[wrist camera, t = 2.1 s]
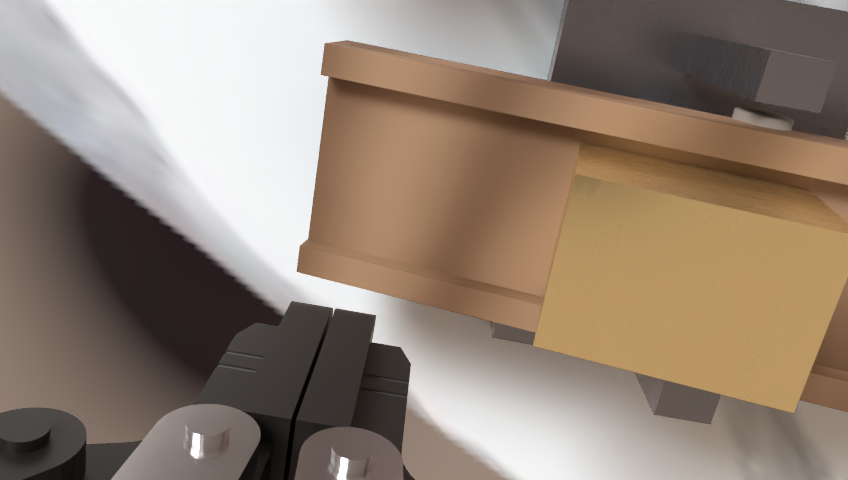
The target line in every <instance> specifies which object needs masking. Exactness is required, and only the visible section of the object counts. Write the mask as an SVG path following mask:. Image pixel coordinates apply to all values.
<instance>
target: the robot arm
mask: <svg viewBox="0 0 848 480" xmlns="http://www.w3.org/2000/svg"><path fill="white" fill-rule="evenodd" d="M332 316H333V317H332ZM375 319H376V315H370V314H365V313H359V312H353V311H347V310H341V309H335V311H334V314H333V308H329V307H323V306H317V305H312V304H306V303H300V302H294V301H292V302H291V303H290V305H289V307H288V309H287V311H286V313H285V315H284V317H283V319H282V321H281V323H280V325H279V327H278V326H272V325H266V324H260V323H255V324H254V325H252V326H250V327H248V328H247V329H245V330H243V331H241V332H240V333H238V334H236V336H235V337H234V339H233V340H232V342H231V344H230V345H229V347H228V349H227V351H226V353H225V354H224V355H223V357H222V359H221V360H220V362H219V364H218V367H216V369H215V370H214V372H213V374H212V375H211V377H210V378H209V380H208V382H207V383H206V385H205V386H204V388H203V390H202V391H201V393H200V395H199V396H198V398H197V400H196V401H195V403H194V404H193V405H191V406H186V407H182V408H180V409H177V410H174V411H172V412H170V413H168V414H167V415H165V416H164V417H163V418H161V419H160V420H159V421H158V422H157V424H156V425H155V426H154V427H153V429H152V430H151V431H150V432H149V433H148V435H147V436H146V437H145V438H144V440H141V441H135V442H126V443H107V444H86V429H85V427H84V425H83V423H82V422H81V421H80V420H79V419H78V418H76V417H75V416H73V415H71V414H69V413H67V412H64V411H61V410H56V409H50V408H23V409H16V410H11V411H7V412H3V413H0V480H415V479H414V478H413V477H412V476H411V475H410V474H409V472H408V471H407V470H406V468H405V466H404V464H403V460H402V456H401V450H402V441H403V432H404V423H405V422H404V421H405V413H406V404H407V394H408V385H409V376H410V366H411V364H410V362H409V360H408V359H407V357H406V356H405V354H404V352H403V351H402V349H401V347H395V346H389V345H384V344H378V343H372V338H373V332H374V326H375Z"/></svg>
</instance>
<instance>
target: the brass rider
mask: <svg viewBox="0 0 848 480" xmlns="http://www.w3.org/2000/svg"><path fill="white" fill-rule="evenodd" d="M847 278H848V223H847V222H845V221H844V220H843V219H842V218H841V217H840V216H839V215H837V214H836V213H835V212H834V211H833V210H832V209H831V208H829V207H828V206H827V205H826V204H825V203H824V202H823V201H821V200H820V199H819V198H818V197H817V196H816V195H815V194H813V193H812V192H811V191H810V190H808V189H804V188H799V187H794V186H790V185H785V184H780V183H775V182H771V181H766V180H761V179H756V178H752V177H747V176H742V175H738V174H733V173H728V172H723V171H719V170H714V169H709V168H705V167H700V166H695V165H690V164H686V163H681V162H676V161H671V160H667V159H662V158H657V157H653V156H648V155H643V154H638V153H634V152H629V151H624V150H619V149H615V148H610V147H605V146H601V145H596V144H591V143H586V142H582V141H580V145H579V149H578V153H577V157H576V161H575V165H574V169H573V173H572V177H571V181H570V185H569V189H568V193H567V197H566V201H565V205H564V209H563V213H562V218H561V222H560V226H559V230H558V234H557V238H556V242H555V246H554V250H553V254H552V258H551V262H550V266H549V270H548V274H547V278H546V282H545V287H544V292H543V297H542V302H541V307H540V312H539V318H538V323H537V328H536V333H535V338H534V343H533V346H535V347H539V348H543V349H547V350H550V351H554V352H558V353H562V354H566V355H570V356H574V357H578V358H581V359H585V360H589V361H593V362H597V363H601V364H605V365H609V366H612V367H616V368H620V369H624V370H628V371H632V372H636V373H640V374H643V375H647V376H651V377H655V378H659V379H663V380H667V381H671V382H674V383H678V384H682V385H686V386H690V387H694V388H698V389H702V390H706V391H709V392H713V393H717V394H721V395H725V396H729V397H733V398H737V399H740V400H744V401H748V402H752V403H756V404H760V405H764V406H768V407H771V408H775V409H779V410H783V411H787V412H791V413H794V412H795V409H796V407H797V404H798V401H799V399H800V396H801V394H802V391H803V389H804V386H805V384H806V381H807V379H808V376H809V374H810V371H811V369H812V366H813V364H814V361H815V358H816V356H817V353H818V351H819V348H820V346H821V343H822V341H823V338H824V336H825V333H826V331H827V328H828V326H829V323H830V321H831V318H832V316H833V313H834V310H835V308H836V305H837V303H838V300H839V298H840V295H841V293H842V290H843V288H844V285H845V283H846V280H847Z"/></svg>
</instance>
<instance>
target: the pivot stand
mask: <svg viewBox="0 0 848 480" xmlns="http://www.w3.org/2000/svg"><path fill="white" fill-rule="evenodd" d="M547 81H552V82H557V83H562V84H567V85H572V86H577V87H582V88H587V89H592V90H597V91H602V92H607V93H612V94H617V95H622V96H627V97H632V98H637V99H642V100H647V101H652V102H657V103H662V104H667V105H672V106H677V107H682V108H687V109H692V110H697V111H702V112H707V113H712V114H717V115H722V116H727V117H732V115H733V112H734V109H735V107H740V108H748V109H754V110H759V111H764V112H768V113H773V114H777V115H780V116H784V117H787V118H790V119H793V120H794V123H793V126H792V130H797V131H802V132H807V133H812V134H817V135H822V136H827V137H832V138H837V139H842V140H843V139H844V136H845V133H846V130H847V128H848V12H846V11H840V10H835V9H829V8H824V7H818V6H813V5H808V4H802V3H797V2H791V1H786V0H565V3H564V8H563V12H562V17H561V21H560V26H559V30H558V34H557V39H556V43H555V48H554V52H553V57H552V61H551V66H550V70H549V74H548V79H547ZM492 337H493V338H498V339H504V340H509V341H515V342H521V343H527V344H532V345H533V343H534V338H535V332H531V331H527V330H524V329H520V328H516V327H512V326H508V325H504V324H500V323H496V322H493V323H492ZM635 374H636V376H637V378H638V381H639V383H640V385H641V387H642V389H643V391H644V394H645V396H646V398H647V400H648V402H649V405H650V407H651V409H652V411H653V413H654V415H660V416H665V417H671V418H677V419H683V420H689V421H694V422H700V423H706V424H711V421H712V418H713V415H714V412H715V410H716V407H717V404H718V401H719V398H720V395H721V394H717V393H713V392H709V391H706V390H702V389H698V388H694V387H690V386H686V385H682V384H678V383H674V382H671V381H667V380H663V379H659V378H655V377H651V376H647V375H643V374H640V373H636V372H635Z"/></svg>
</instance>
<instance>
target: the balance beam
mask: <svg viewBox="0 0 848 480" xmlns="http://www.w3.org/2000/svg"><path fill="white" fill-rule="evenodd" d="M321 75H324V76H329V79H328V87H327V95H326V103H325V111H324V119H323V127H322V135H321V143H320V151H319V159H318V166H317V174H316V182H315V190H314V198H313V206H312V214H311V222H310V230H309V238H308V240H307V241H305V242H304V243H303V244H302V245H300V250H299V258H298V266H297V272H300V273H304V274H308V275H311V276H315V277H319V278H323V279H327V280H331V281H335V282H339V283H343V284H347V285H351V286H355V287H359V288H363V289H366V290H370V291H374V292H378V293H382V294H386V295H390V296H394V297H398V298H402V299H406V300H410V301H414V302H417V303H421V304H425V305H429V306H433V307H437V308H441V309H445V310H449V311H453V312H457V313H461V314H465V315H469V316H472V317H476V318H480V319H484V320H488V321H492V322H496V323H500V324H504V325H508V326H512V327H516V328H520V329H524V330H527V331H531V332H535V333H536V328H537V323H538V318H539V312H540V307H541V302H542V297H543V292H544V287H545V282H546V278H547V274H548V270H549V266H550V262H551V258H552V254H553V250H554V246H555V242H556V238H557V234H558V230H559V226H560V222H561V218H562V213H563V209H564V205H565V201H566V197H567V193H568V189H569V185H570V181H571V177H572V173H573V169H574V165H575V161H576V157H577V153H578V149H579V145H580V141H582V142H586V143H591V144H596V145H601V146H605V147H610V148H615V149H619V150H624V151H629V152H634V153H638V154H643V155H648V156H653V157H657V158H662V159H667V160H671V161H676V162H681V163H686V164H690V165H695V166H700V167H705V168H709V169H714V170H719V171H723V172H728V173H733V174H738V175H742V176H747V177H752V178H756V179H761V180H766V181H771V182H775V183H780V184H785V185H790V186H794V187H799V188H804V189H808V190H810V191H811V192H812V193H813V194H815V195H816V196H817V197H818V198H819V199H820V200H821V201H823V202H824V203H825V204H826V205H827V206H828V207H829V208H831V209H832V210H833V211H834V212H835V213H836V214H837V215H839V216H840V217H841V218H842V219H843V220H844V221H845V222H847V223H848V141H847V140H842V139H837V138H832V137H827V136H822V135H817V134H812V133H807V132H802V131H797V130H792V126H793V123H794V120H793V119H790V118H787V117H784V116H780V115H777V114H773V113H768V112H764V111H759V110H754V109H748V108H740V107H735V109H734V112H733V115H732V117H727V116H722V115H717V114H712V113H707V112H702V111H697V110H692V109H687V108H682V107H677V106H672V105H667V104H662V103H657V102H652V101H647V100H642V99H637V98H632V97H627V96H622V95H617V94H612V93H607V92H602V91H597V90H592V89H587V88H582V87H577V86H572V85H567V84H562V83H557V82H552V81H547V80H542V79H537V78H532V77H527V76H522V75H517V74H512V73H507V72H502V71H497V70H492V69H487V68H482V67H477V66H472V65H467V64H462V63H457V62H452V61H447V60H442V59H437V58H432V57H427V56H422V55H417V54H412V53H407V52H402V51H397V50H393V49H388V48H383V47H378V46H373V45H368V44H363V43H358V42H353V41H340V42H332V43H325V46H324V54H323V62H322V70H321ZM799 400H802V401H806V402H810V403H814V404H818V405H822V406H826V407H830V408H834V409H838V410H842V411H846V412H848V278H847V280H846V283H845V285H844V288H843V290H842V293H841V295H840V298H839V300H838V303H837V305H836V308H835V310H834V313H833V316H832V318H831V321H830V323H829V326H828V328H827V331H826V333H825V336H824V338H823V341H822V343H821V346H820V348H819V351H818V353H817V356H816V358H815V361H814V364H813V366H812V369H811V371H810V374H809V376H808V379H807V381H806V384H805V386H804V389H803V391H802V394H801V396H800V399H799Z"/></svg>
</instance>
